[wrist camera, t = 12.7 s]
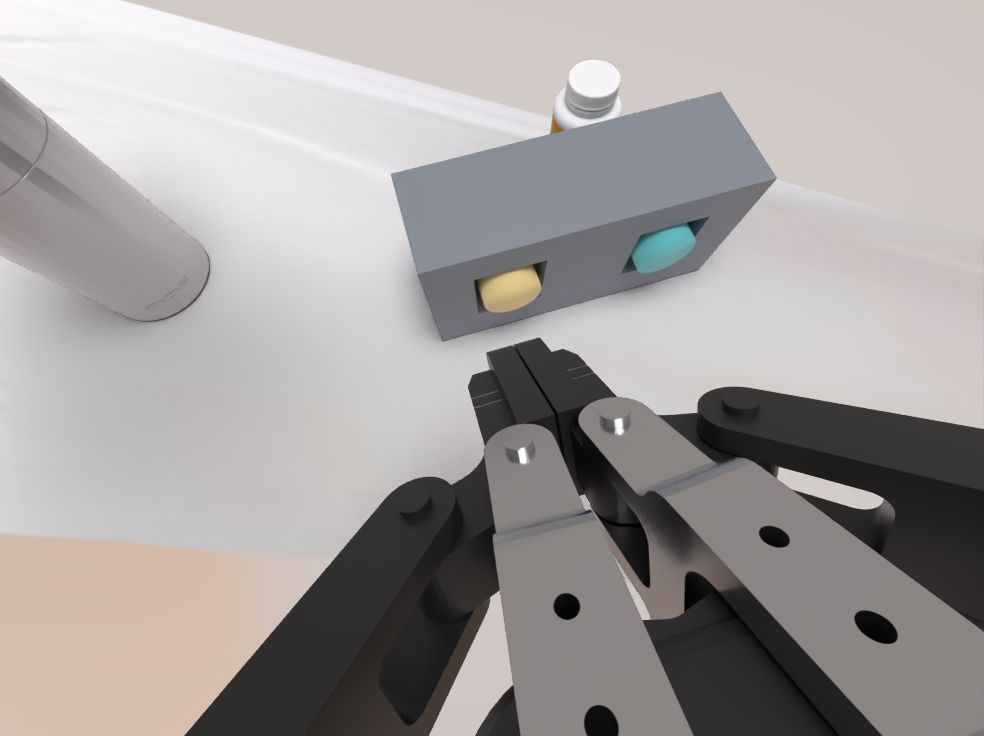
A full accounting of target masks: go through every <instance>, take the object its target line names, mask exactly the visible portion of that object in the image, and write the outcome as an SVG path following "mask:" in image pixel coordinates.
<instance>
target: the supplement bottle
mask: <svg viewBox="0 0 984 736" xmlns="http://www.w3.org/2000/svg"><path fill="white" fill-rule="evenodd" d="M620 80H621V79H620V75H619V72H618V71H617V69H616V68H615V67H614V66H612V65H611V64H609V63H607V62H604V61H600V60H587V61H583V62H581V63H579V64H577V65H576V66H574V67H573V68H572V70H571V71H570V73H569V76H568V82H567V86H566V87H565V88H564V89H562V90H561V92H560V93H559V94H558V96H557V97H556V100H555V103H554V108H553V116H552V123H551V131H550V134H553V133H557V132H561V131H565V130H569V129H573V128H577V127H581V126H585V125H589V124H593V123H597V122H601V121H605V120H609V119H613V118H617V117H621V114H622V103H621V100H620V98H619V96H618V90H619V86H620Z"/></svg>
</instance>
